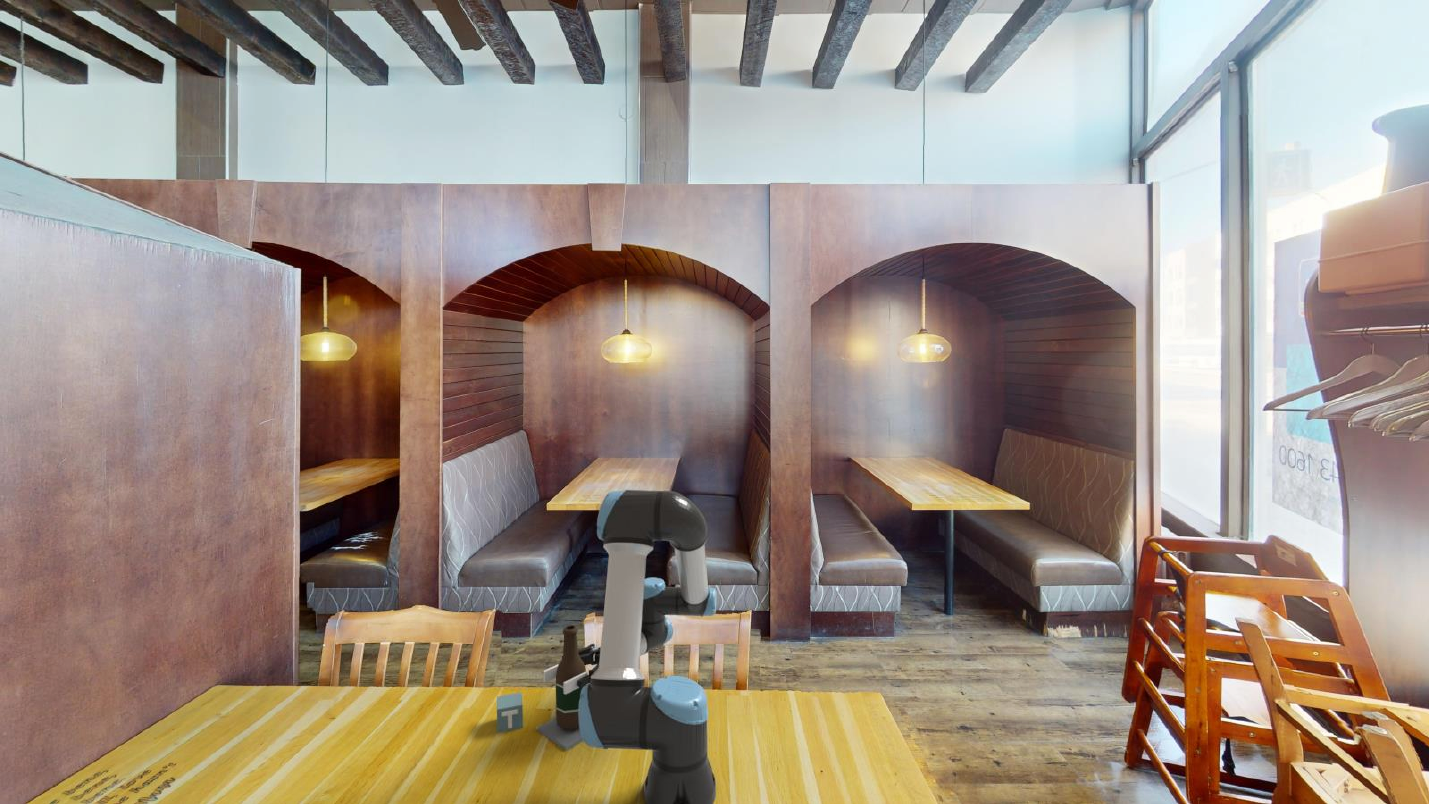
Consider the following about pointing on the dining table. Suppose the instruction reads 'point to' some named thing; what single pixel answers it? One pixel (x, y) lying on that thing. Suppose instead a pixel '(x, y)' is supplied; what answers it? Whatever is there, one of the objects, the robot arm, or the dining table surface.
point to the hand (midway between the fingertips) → (554, 682)
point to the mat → (560, 734)
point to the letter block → (509, 712)
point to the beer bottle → (566, 671)
